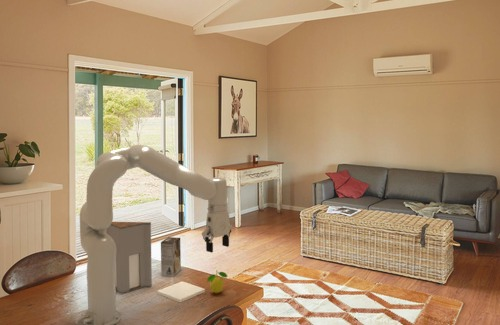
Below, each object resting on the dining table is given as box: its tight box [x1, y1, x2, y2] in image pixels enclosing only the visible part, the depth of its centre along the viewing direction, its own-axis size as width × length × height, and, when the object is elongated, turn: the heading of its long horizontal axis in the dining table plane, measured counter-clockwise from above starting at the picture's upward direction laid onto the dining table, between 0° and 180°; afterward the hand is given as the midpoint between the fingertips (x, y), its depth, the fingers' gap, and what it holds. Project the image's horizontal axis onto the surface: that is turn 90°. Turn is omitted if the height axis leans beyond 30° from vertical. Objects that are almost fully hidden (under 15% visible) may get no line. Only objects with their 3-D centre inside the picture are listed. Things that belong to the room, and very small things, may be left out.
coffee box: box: [160, 236, 182, 278], centre depth 202 cm, size 9×6×16 cm
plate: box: [156, 280, 206, 303], centre depth 180 cm, size 14×14×1 cm
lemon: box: [206, 270, 229, 294], centre depth 179 cm, size 7×6×10 cm
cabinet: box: [107, 221, 153, 295], centre depth 182 cm, size 21×10×28 cm, turn 88°
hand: (217, 248), depth 178 cm, fingers open, 9 cm apart
